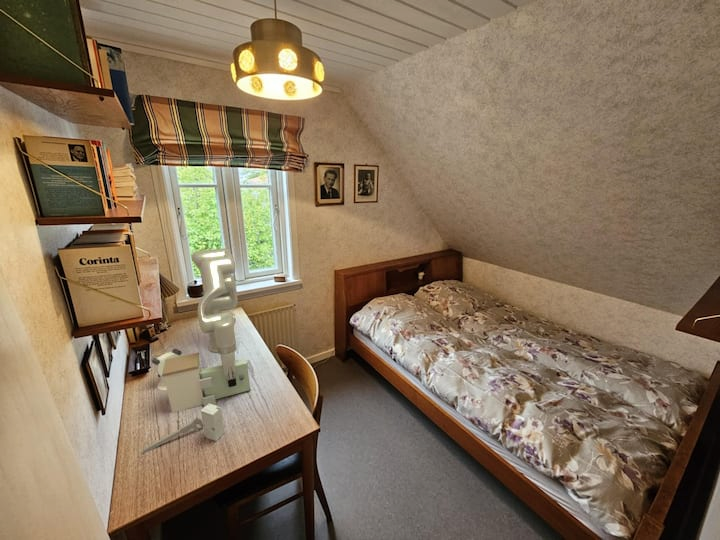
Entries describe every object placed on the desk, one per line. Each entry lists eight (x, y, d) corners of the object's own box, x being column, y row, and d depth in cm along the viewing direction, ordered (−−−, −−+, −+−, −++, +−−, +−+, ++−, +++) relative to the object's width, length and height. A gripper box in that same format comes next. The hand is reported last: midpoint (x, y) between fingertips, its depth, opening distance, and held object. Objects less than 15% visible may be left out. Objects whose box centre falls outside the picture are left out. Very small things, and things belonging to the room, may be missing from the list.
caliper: (203, 427, 122) (200, 414, 120) (203, 429, 121) (201, 416, 119) (140, 453, 111) (136, 439, 109) (140, 455, 110) (136, 441, 108)
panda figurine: (178, 371, 155) (172, 345, 150) (191, 379, 149) (186, 351, 145) (152, 385, 145) (145, 357, 140) (166, 393, 139) (159, 365, 135)
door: (206, 397, 136) (201, 369, 132) (249, 385, 143) (246, 359, 139) (206, 403, 132) (201, 375, 128) (250, 391, 139) (247, 364, 135)
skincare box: (204, 436, 117) (199, 410, 113) (213, 428, 121) (208, 402, 117) (216, 441, 115) (211, 415, 111) (225, 432, 119) (221, 406, 115)
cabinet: (173, 396, 138) (165, 359, 132) (215, 386, 144) (209, 350, 138) (170, 416, 127) (161, 376, 121) (215, 403, 133) (209, 365, 128)
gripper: (216, 340, 137) (222, 375, 143) (217, 359, 123) (223, 397, 129) (235, 336, 140) (239, 371, 146) (237, 355, 126) (243, 392, 132)
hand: (232, 383), depth 137 cm, fingers closed on door, 3 cm apart
